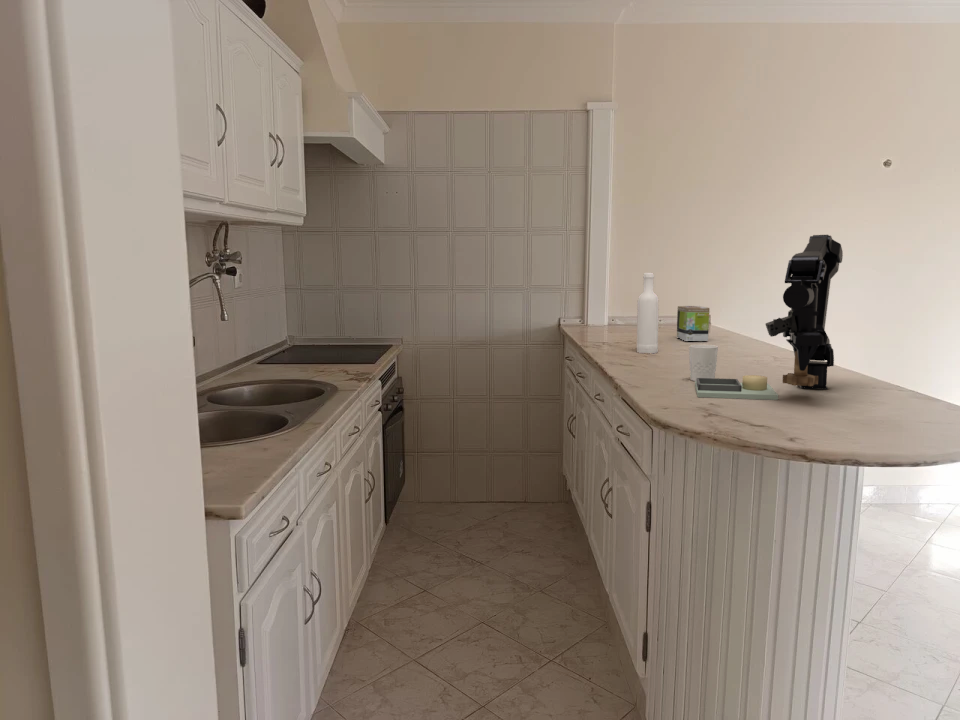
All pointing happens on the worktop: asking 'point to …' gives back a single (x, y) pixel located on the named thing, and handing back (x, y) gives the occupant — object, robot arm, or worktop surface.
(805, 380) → the planet gear
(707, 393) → the carrier plate
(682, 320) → the tea box
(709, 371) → the white cup
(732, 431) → the worktop surface
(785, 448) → the worktop surface
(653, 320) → the bottle
